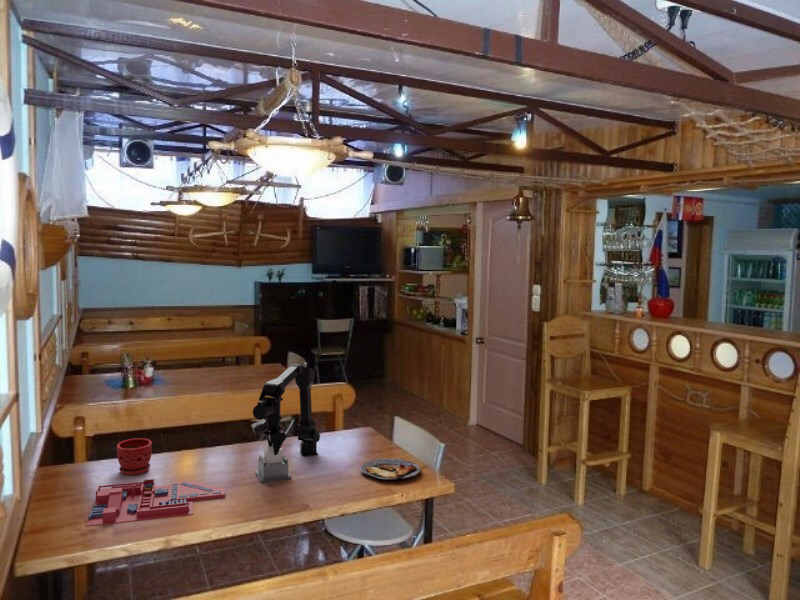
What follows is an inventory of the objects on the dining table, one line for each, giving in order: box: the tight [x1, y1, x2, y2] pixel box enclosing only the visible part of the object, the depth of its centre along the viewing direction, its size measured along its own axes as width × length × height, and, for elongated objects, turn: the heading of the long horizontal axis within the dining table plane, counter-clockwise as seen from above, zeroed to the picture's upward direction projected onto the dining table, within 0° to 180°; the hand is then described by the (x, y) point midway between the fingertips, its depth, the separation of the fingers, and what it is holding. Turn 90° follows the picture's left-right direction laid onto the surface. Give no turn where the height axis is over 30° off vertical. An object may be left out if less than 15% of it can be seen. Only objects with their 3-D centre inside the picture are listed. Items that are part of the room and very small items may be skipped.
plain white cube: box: [263, 446, 283, 464], centre depth 248 cm, size 6×6×5 cm
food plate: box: [359, 458, 422, 481], centre depth 255 cm, size 25×23×4 cm
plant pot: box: [116, 437, 153, 476], centre depth 250 cm, size 13×13×12 cm
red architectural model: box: [85, 478, 226, 527], centre depth 222 cm, size 30×45×6 cm
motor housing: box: [254, 452, 292, 484], centre depth 250 cm, size 12×14×8 cm
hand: (273, 451), depth 248 cm, fingers open, 9 cm apart
